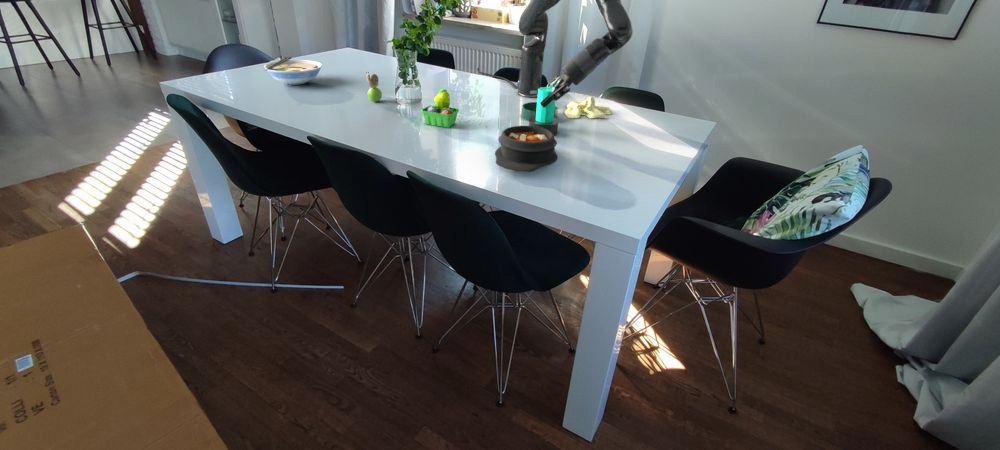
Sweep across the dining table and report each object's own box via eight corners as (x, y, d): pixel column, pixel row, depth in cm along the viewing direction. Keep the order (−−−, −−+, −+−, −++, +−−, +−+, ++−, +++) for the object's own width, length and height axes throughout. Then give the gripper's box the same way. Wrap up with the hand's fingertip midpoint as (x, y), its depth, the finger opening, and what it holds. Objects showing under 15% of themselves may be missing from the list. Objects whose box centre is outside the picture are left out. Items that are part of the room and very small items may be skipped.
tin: (515, 114, 181) (515, 104, 179) (543, 110, 187) (544, 100, 185) (534, 124, 171) (535, 114, 169) (563, 120, 177) (565, 110, 175)
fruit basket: (420, 124, 165) (419, 91, 159) (432, 117, 172) (431, 86, 167) (450, 129, 162) (450, 96, 156) (461, 122, 169) (461, 90, 164)
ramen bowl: (312, 91, 194) (309, 71, 190) (256, 89, 194) (252, 68, 190) (332, 77, 216) (329, 58, 212) (281, 75, 216) (278, 56, 212)
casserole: (543, 182, 128) (546, 153, 124) (480, 170, 134) (481, 141, 129) (566, 152, 149) (570, 126, 144) (510, 142, 154) (512, 117, 150)
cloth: (572, 101, 199) (574, 87, 196) (616, 109, 193) (618, 94, 189) (554, 115, 181) (556, 99, 178) (601, 124, 175) (604, 107, 172)
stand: (521, 128, 166) (522, 117, 164) (546, 124, 171) (547, 113, 169) (538, 138, 159) (539, 126, 157) (564, 134, 163) (565, 122, 161)
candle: (541, 123, 160) (544, 87, 153) (532, 118, 164) (535, 83, 158) (556, 121, 162) (560, 86, 156) (547, 116, 167) (550, 81, 161)
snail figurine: (363, 102, 185) (360, 70, 178) (373, 98, 190) (370, 67, 184) (375, 104, 183) (373, 72, 177) (385, 100, 188) (382, 69, 182)
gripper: (568, 54, 160) (530, 89, 164) (578, 63, 147) (536, 101, 152) (581, 70, 163) (543, 105, 168) (592, 81, 151) (551, 117, 155)
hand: (540, 103), depth 160 cm, fingers open, 5 cm apart
